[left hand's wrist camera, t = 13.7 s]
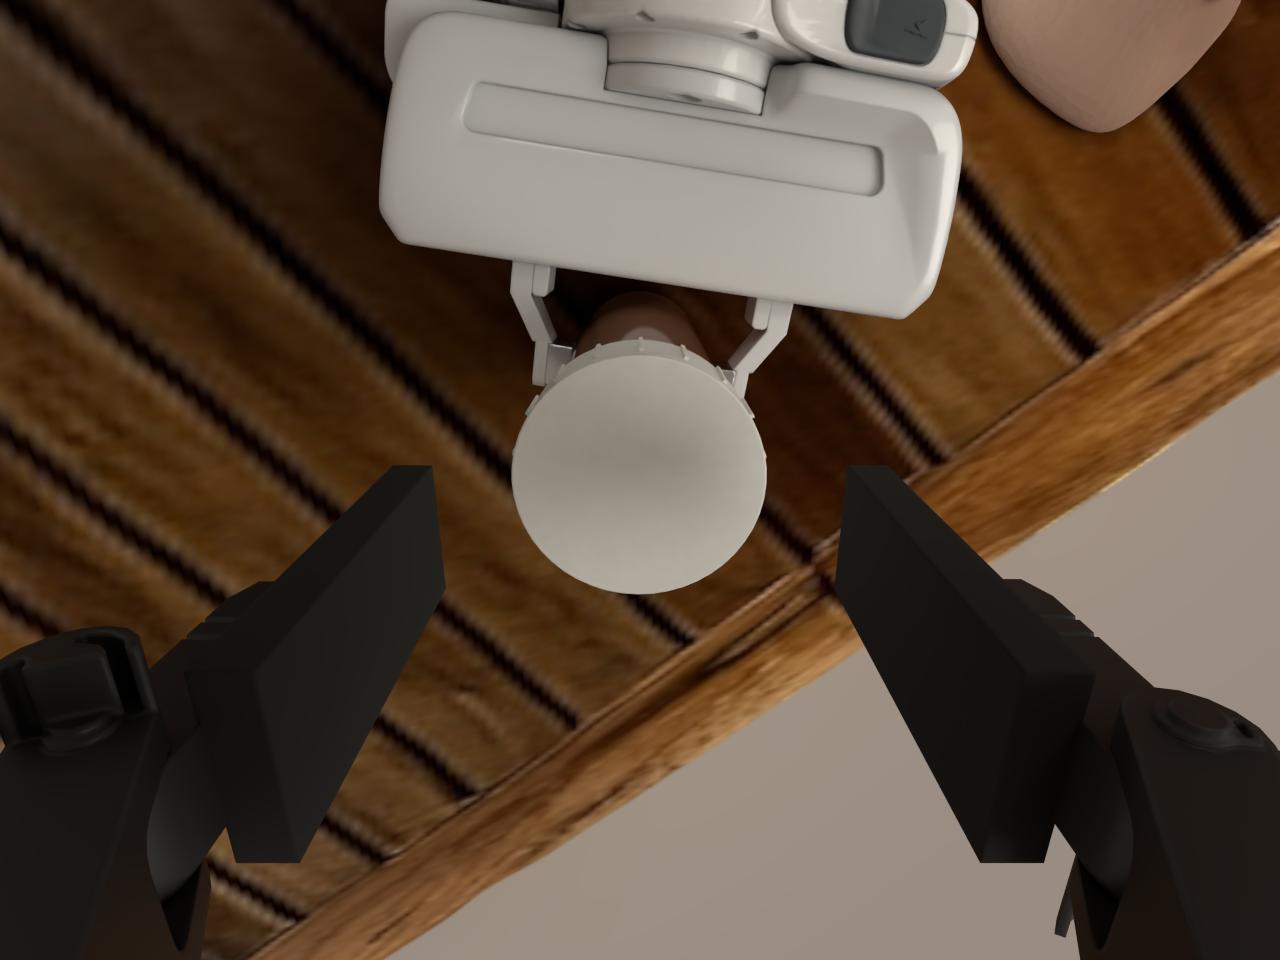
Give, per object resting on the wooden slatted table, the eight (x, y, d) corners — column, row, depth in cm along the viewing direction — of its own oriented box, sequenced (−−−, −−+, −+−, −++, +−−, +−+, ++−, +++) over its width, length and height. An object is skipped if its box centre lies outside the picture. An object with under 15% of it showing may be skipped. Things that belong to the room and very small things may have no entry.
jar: (562, 327, 33) (480, 433, 16) (662, 268, 32) (686, 317, 15) (618, 423, 35) (598, 611, 18) (716, 370, 34) (790, 516, 17)
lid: (478, 410, 18) (456, 435, 16) (688, 291, 17) (695, 300, 15) (597, 590, 20) (592, 634, 18) (793, 493, 19) (812, 527, 17)
